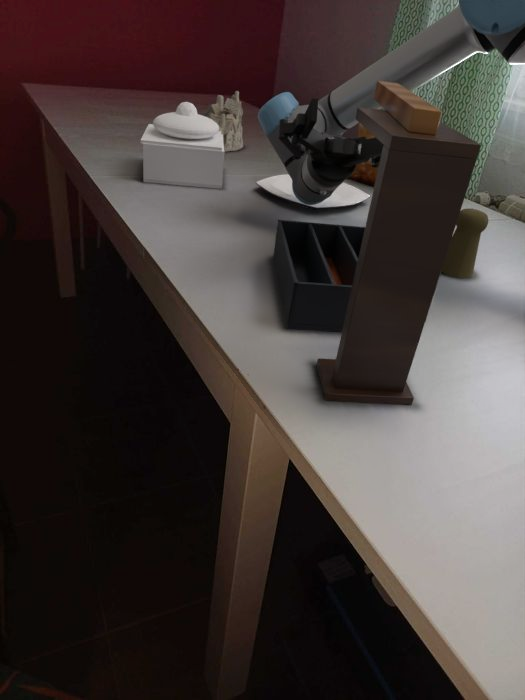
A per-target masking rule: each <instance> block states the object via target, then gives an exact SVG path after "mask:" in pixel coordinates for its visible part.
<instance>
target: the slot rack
mask: <svg viewBox="0 0 525 700" xmlns="http://www.w3.org/2000/svg"><path fill="white" fill-rule="evenodd" d="M276 224H277V225H276V232H275V240H274V245H273V246H274V247H273V255H272V260H273V264H274V270H275V275H276V280H277V285H278V289H279V294H280V295H279V296H280V299H281V305H282V310H283V314H284V320H285V325H286V328H287V329H293V330H311V331H322V332H323V331H325V332H338V333H339V332H340V333H342V329H343V325H344V320H345V316H346V311H347V307H348V302H349V298H350V293H351V289H352V285H353V280H354V276H355V271H356V267H357V262H358V258H359V253H360V249H361V244H362V240H363V235H364V231H365V226H357V225H347V224H346V225H345V224H333V223H320V222H309V221H297V220H289V219H288V220H287V219H277V223H276Z"/></svg>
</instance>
